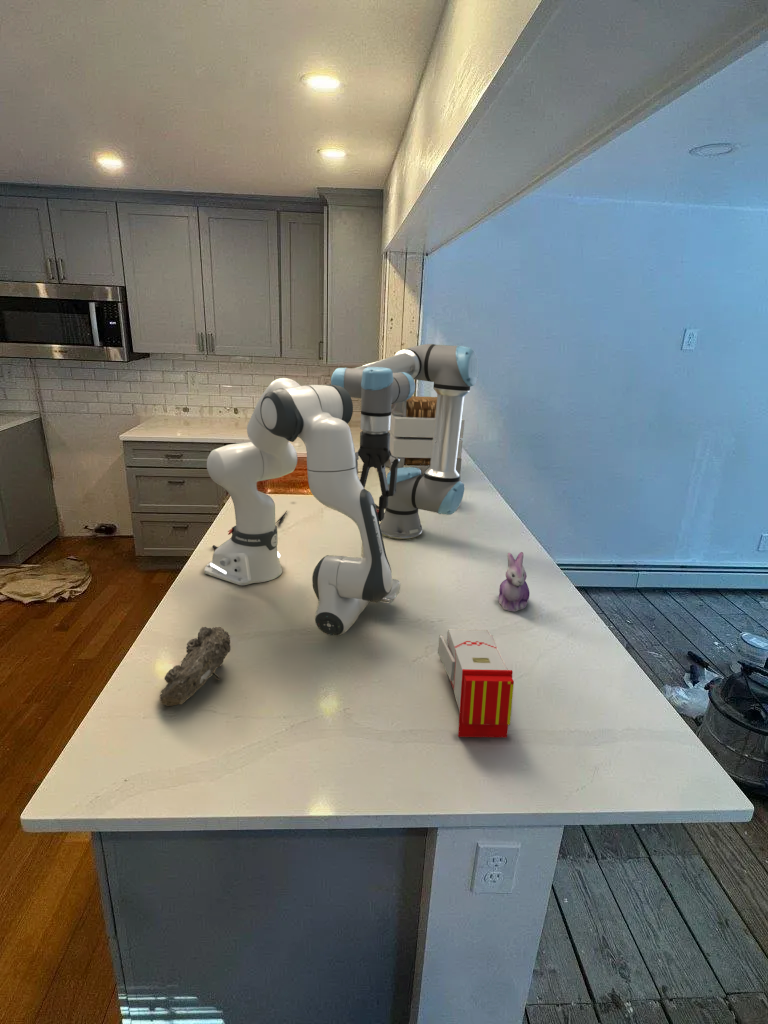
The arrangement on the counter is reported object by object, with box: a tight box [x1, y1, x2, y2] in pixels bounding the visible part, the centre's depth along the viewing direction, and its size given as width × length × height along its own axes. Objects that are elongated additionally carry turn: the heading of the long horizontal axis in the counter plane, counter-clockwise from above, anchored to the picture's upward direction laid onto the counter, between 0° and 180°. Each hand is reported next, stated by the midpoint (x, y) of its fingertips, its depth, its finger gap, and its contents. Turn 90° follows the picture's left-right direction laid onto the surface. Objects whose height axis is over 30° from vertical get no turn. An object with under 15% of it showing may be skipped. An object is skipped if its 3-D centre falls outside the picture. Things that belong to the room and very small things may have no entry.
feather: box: [275, 510, 288, 528], centre depth 213 cm, size 2×28×2 cm
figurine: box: [497, 551, 530, 612], centre depth 152 cm, size 9×10×15 cm
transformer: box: [385, 395, 465, 481], centre depth 268 cm, size 34×33×41 cm
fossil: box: [159, 626, 232, 707], centre depth 118 cm, size 22×10×15 cm
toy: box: [437, 628, 515, 738], centre depth 117 cm, size 12×13×30 cm
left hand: (370, 572), depth 156 cm, fingers closed on bottle, 5 cm apart
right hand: (371, 518), depth 150 cm, fingers open, 4 cm apart
